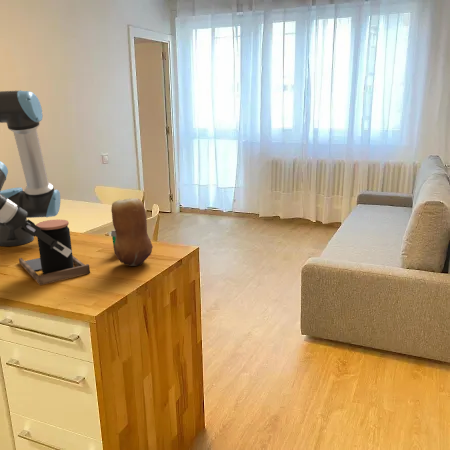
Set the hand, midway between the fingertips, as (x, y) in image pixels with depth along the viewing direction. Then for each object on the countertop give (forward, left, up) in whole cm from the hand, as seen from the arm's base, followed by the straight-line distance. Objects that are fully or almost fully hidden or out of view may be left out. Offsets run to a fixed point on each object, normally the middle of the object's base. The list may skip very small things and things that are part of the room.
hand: (64, 250), depth 158 cm
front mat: (-3, -13, -8) cm, 15 cm away
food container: (-26, +6, -8) cm, 28 cm away
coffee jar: (+3, -1, -8) cm, 8 cm away
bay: (0, -7, -8) cm, 10 cm away
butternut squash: (-14, +19, -8) cm, 25 cm away
